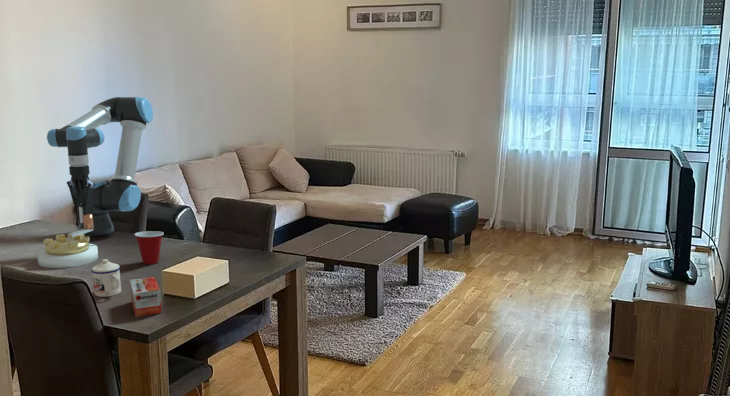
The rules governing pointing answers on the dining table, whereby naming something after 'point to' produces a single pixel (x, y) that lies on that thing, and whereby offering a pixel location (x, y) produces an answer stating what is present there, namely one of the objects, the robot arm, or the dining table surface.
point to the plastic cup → (149, 245)
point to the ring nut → (71, 240)
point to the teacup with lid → (106, 279)
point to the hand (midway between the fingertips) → (83, 221)
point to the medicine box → (145, 296)
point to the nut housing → (68, 258)
